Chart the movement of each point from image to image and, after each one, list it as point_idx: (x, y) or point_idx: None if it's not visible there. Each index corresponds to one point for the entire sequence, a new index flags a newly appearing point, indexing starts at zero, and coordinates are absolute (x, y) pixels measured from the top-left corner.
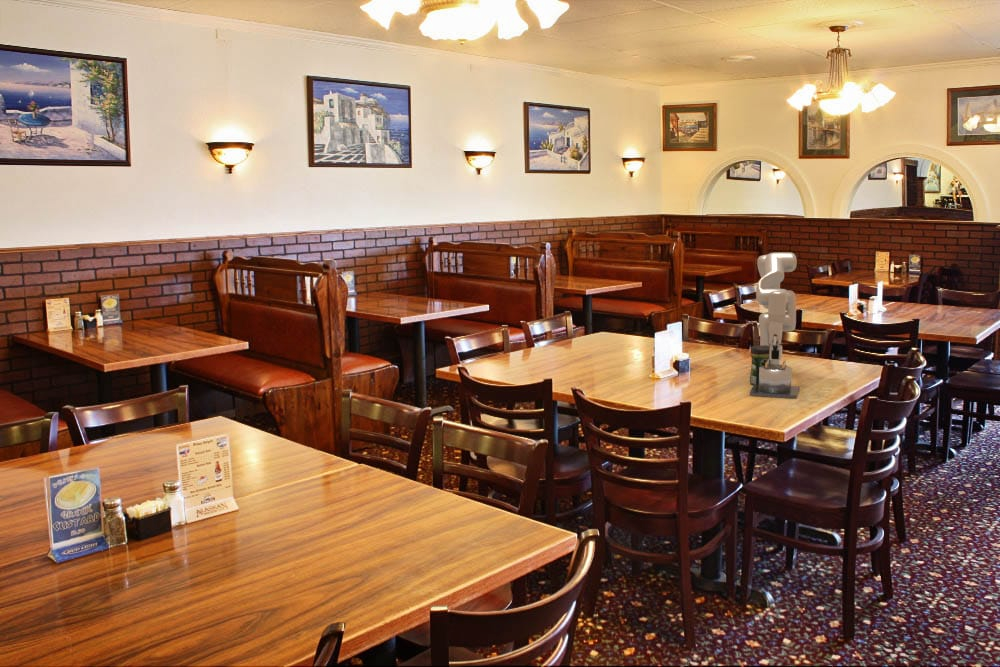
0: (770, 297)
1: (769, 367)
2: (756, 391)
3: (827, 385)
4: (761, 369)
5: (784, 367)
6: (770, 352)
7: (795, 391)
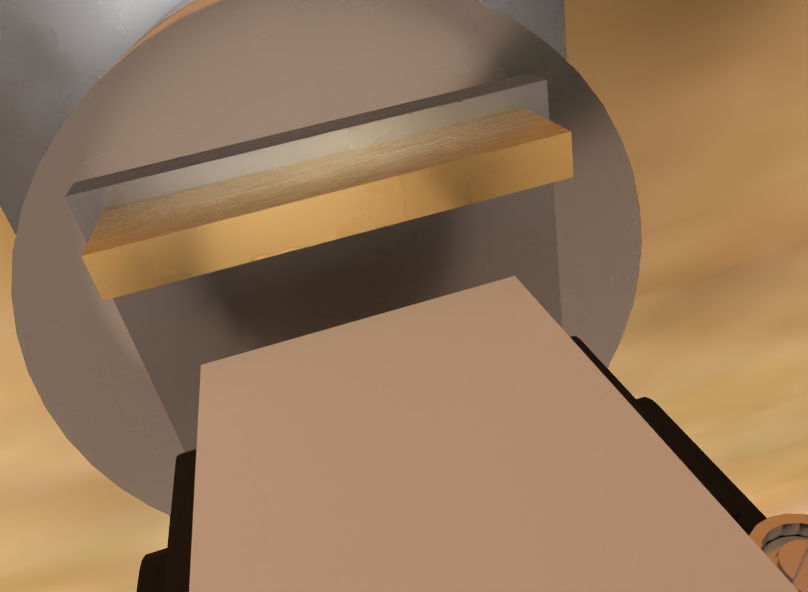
0: None
1: (148, 297)
2: (24, 2)
3: (766, 430)
4: (74, 109)
5: None
6: (201, 567)
7: None
